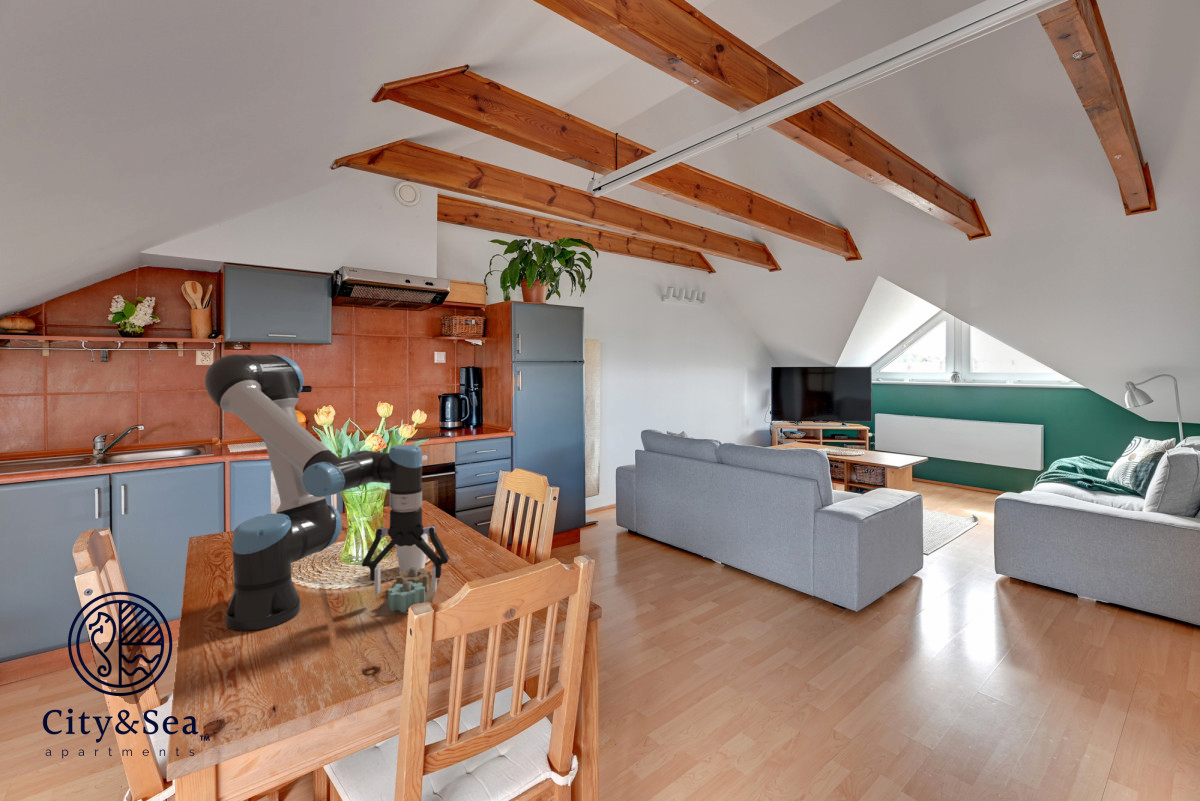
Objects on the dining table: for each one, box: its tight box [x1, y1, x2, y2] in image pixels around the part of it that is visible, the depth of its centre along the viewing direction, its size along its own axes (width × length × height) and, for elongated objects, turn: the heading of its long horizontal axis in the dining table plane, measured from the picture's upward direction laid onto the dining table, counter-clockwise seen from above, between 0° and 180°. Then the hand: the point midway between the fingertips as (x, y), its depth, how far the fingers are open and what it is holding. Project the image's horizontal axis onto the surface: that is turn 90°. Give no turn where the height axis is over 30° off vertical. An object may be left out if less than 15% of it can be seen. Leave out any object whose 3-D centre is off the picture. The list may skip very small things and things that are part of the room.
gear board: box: [375, 567, 440, 617], centre depth 136 cm, size 12×20×7 cm, turn 9°
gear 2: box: [387, 582, 425, 612], centre depth 132 cm, size 9×9×4 cm
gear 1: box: [395, 567, 431, 592], centre depth 141 cm, size 9×9×4 cm
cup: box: [394, 533, 429, 572], centre depth 154 cm, size 9×9×12 cm
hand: (406, 591), depth 132 cm, fingers open, 13 cm apart
